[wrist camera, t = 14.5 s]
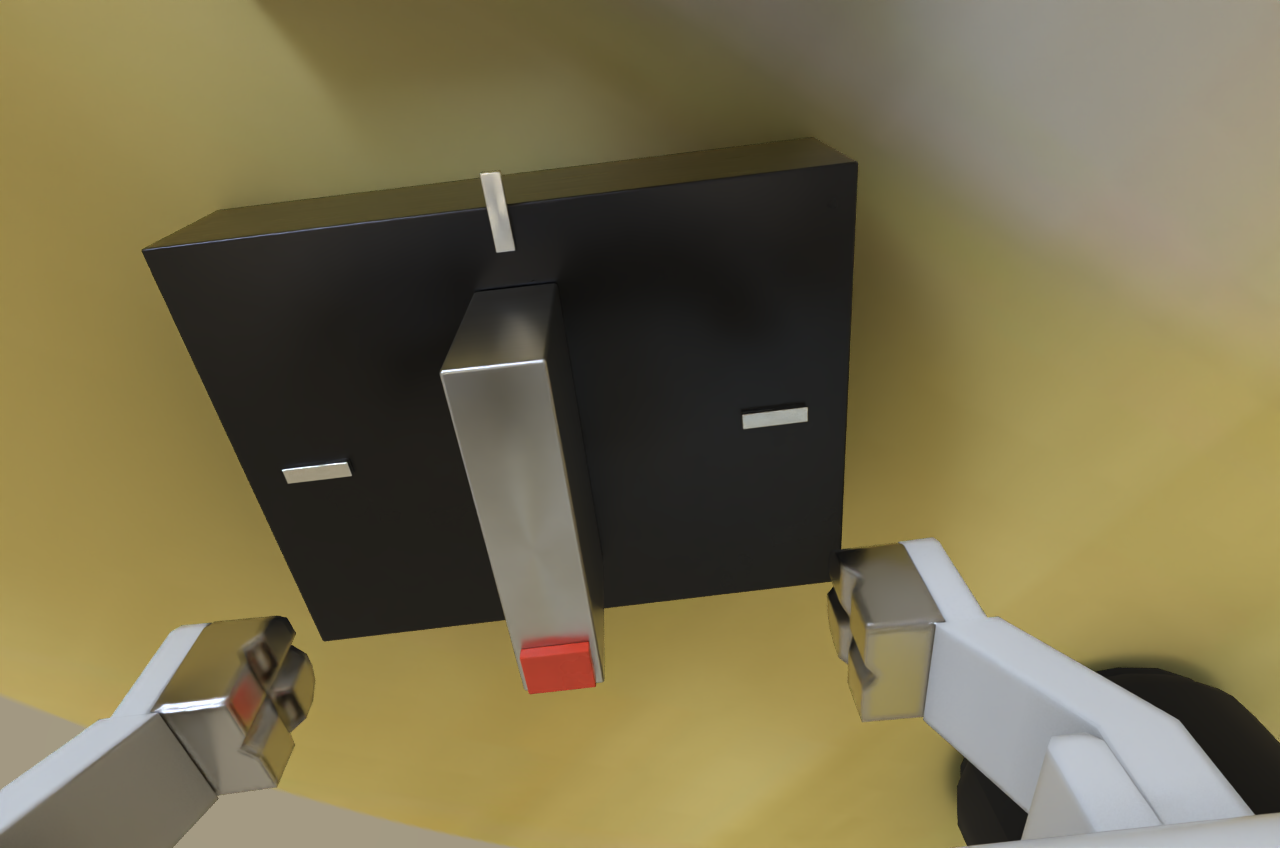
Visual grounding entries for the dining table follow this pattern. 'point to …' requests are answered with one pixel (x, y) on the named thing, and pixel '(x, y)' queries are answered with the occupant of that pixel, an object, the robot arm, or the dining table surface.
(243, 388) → the base
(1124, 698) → the robot arm
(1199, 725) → the coffee jar
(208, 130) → the dining table surface
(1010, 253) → the dining table surface
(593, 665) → the tap lever
